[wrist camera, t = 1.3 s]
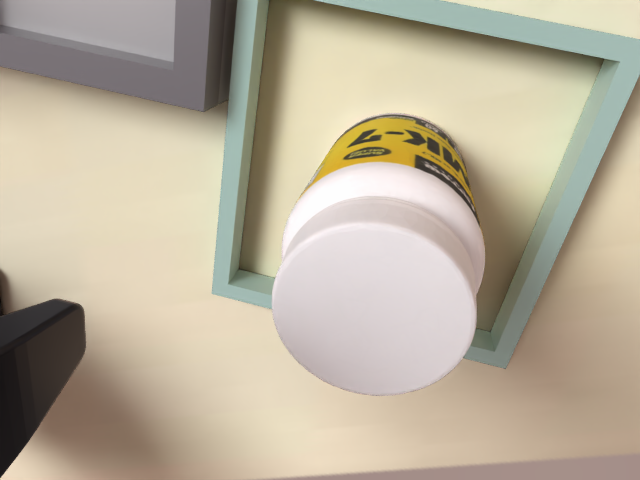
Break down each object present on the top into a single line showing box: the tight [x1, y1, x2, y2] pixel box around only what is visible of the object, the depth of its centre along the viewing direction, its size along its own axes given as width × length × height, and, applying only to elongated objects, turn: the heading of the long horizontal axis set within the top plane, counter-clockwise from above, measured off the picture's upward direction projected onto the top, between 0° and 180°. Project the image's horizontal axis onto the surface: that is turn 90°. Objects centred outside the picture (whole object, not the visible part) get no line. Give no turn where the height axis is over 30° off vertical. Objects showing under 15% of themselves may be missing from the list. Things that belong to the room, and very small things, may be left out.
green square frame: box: [212, 0, 640, 369], centre depth 16 cm, size 11×11×1 cm
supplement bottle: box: [272, 113, 485, 396], centre depth 13 cm, size 5×5×8 cm
